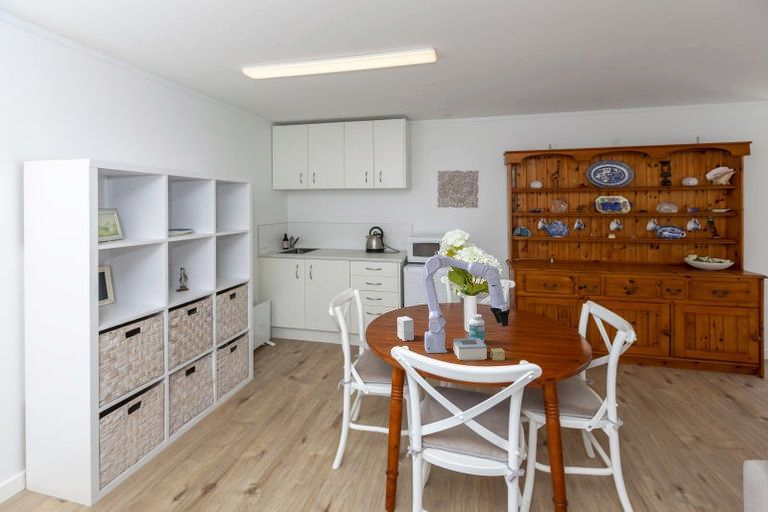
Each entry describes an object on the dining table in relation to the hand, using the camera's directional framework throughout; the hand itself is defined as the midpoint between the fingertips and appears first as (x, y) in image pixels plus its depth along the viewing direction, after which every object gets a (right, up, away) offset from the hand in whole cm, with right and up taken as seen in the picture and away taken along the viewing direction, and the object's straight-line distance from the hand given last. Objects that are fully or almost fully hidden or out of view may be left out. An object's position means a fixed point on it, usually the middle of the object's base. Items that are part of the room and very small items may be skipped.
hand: (502, 324), depth 183 cm
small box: (-41, -12, +29) cm, 52 cm away
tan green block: (-3, -15, -1) cm, 15 cm away
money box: (-14, -14, +4) cm, 20 cm away
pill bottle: (-7, -12, +22) cm, 26 cm away
